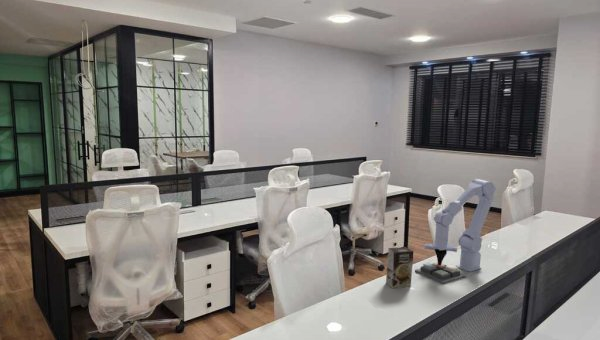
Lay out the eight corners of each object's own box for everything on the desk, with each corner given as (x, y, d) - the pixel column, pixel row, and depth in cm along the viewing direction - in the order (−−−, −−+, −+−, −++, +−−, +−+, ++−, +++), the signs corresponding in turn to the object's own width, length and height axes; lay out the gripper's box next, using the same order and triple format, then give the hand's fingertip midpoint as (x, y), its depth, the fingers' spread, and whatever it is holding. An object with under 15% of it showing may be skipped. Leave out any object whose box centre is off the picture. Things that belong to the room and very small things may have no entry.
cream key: (450, 268, 192) (451, 264, 192) (457, 271, 189) (458, 267, 189) (445, 270, 190) (445, 266, 190) (452, 273, 187) (452, 269, 187)
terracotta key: (438, 266, 198) (438, 262, 198) (445, 268, 195) (445, 265, 195) (432, 267, 196) (433, 263, 196) (439, 270, 193) (440, 266, 193)
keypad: (437, 265, 202) (438, 260, 202) (465, 277, 189) (466, 271, 188) (415, 271, 194) (415, 266, 193) (442, 284, 180) (443, 278, 180)
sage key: (440, 273, 189) (440, 269, 189) (447, 276, 185) (448, 272, 185) (434, 275, 187) (435, 271, 186) (441, 278, 183) (442, 274, 183)
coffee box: (392, 288, 174) (394, 252, 172) (385, 282, 180) (387, 247, 178) (411, 287, 176) (414, 251, 174) (403, 280, 183) (406, 246, 180)
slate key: (428, 266, 195) (429, 262, 194) (435, 269, 191) (435, 265, 191) (423, 268, 192) (423, 264, 192) (429, 271, 189) (430, 266, 189)
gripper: (426, 238, 191) (424, 265, 193) (459, 241, 188) (456, 269, 190) (425, 233, 198) (423, 260, 200) (456, 236, 195) (454, 263, 197)
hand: (439, 264), depth 195 cm, fingers closed, pressing on terracotta key
